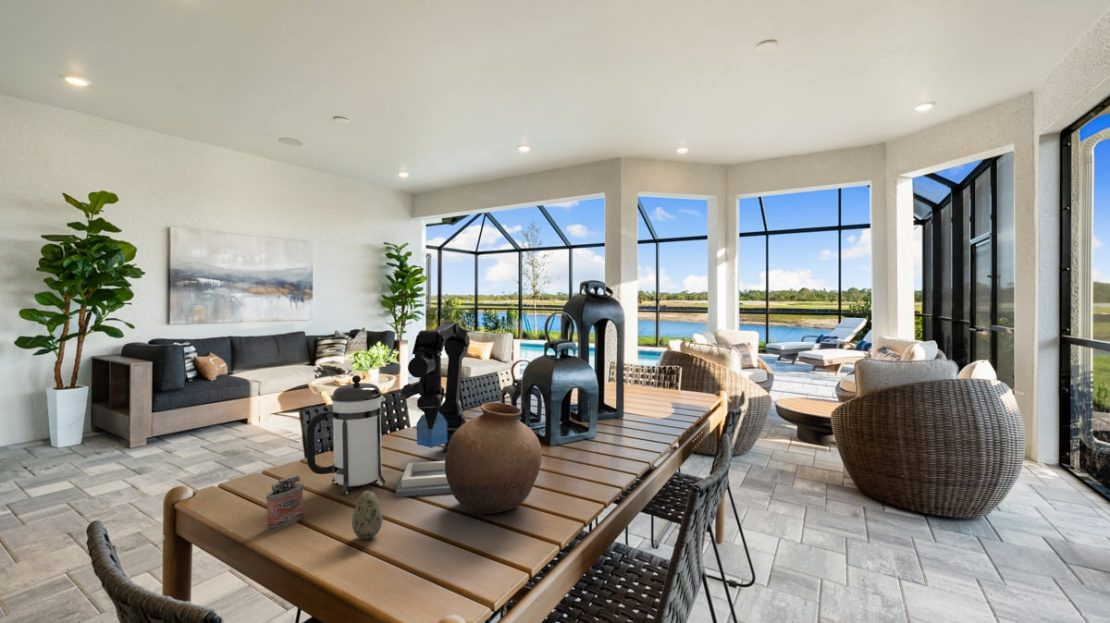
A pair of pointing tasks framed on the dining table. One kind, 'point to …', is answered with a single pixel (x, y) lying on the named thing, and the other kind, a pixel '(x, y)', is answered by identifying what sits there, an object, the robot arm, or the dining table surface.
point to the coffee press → (352, 435)
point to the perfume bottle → (432, 432)
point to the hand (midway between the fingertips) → (432, 425)
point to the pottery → (493, 460)
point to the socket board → (423, 479)
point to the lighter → (285, 503)
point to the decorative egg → (367, 516)
